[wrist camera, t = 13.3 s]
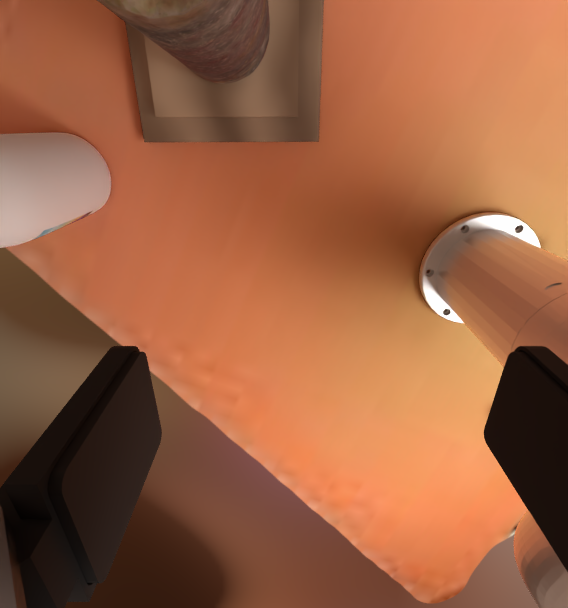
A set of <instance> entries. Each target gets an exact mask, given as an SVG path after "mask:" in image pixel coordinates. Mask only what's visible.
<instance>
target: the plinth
mask: <svg viewBox="0 0 568 608" xmlns="http://www.w3.org/2000/svg"><path fill="white" fill-rule="evenodd" d="M268 6H269V17H270V34H269V42H268V46H267V49H266V52H265V54H264V57H263V59H262V61H261V62H260V64H259V66H258V67H257V68H256V69H255V71H254V72H253V73H251V74H250V75H249V76H247V77H245V78H243V79H241V80H239V81H236V82H233V83H226V84H217V83H213V82H210V81H207V80H205V79H203V78H201V77H199V76H198V75H197V74H195V73H194V72H192V71H191V70H190V69H189V68H187V67H186V66H185V65H184V64H182V63H181V62H180V61H178V60H177V59H176V58H175V57H173V56H172V55H170V54H169V53H168V52H167V51H165V50H164V49H163V48H161V47H160V46H159V45H157V44H156V43H154V42H153V41H151V40H150V39H149V38H147V37H146V36H145V35H143V34H142V33H141V32H139V31H138V30H136V29H135V28H133V27H132V26H130V25H129V24H128V23H126V22H125V23H126V30H127V36H128V42H129V49H130V55H131V61H132V68H133V74H134V80H135V87H136V93H137V99H138V105H139V112H140V118H141V124H142V131H143V137H144V142H319V120H320V92H321V63H322V34H323V6H324V0H268Z"/></svg>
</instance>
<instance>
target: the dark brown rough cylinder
mask: <svg viewBox="0 0 568 608" xmlns="http://www.w3.org/2000/svg"><path fill="white" fill-rule="evenodd" d="M97 1H99V2H100V3H102V4H103V5H104V6H106V7H107V8H108V9H109V10H111V11H112V12H113V13H115V14H116V15H117V16H118V17H120V18H121V19H122V20H124V21H125V22H126V23H128V24H129V25H130V26H132V27H133V28H135V29H136V30H138V31H139V32H141V33H142V34H143V35H145V36H146V37H147V38H149V39H150V40H151V41H153V42H154V43H156V44H157V45H159V46H160V47H161V48H163V49H164V50H165V51H167V52H168V53H169V54H170V55H172V56H173V57H175V58H176V59H177V60H178V61H180V62H181V63H182V64H184V65H185V66H186V67H187V68H189V69H190V70H191V71H192V72H194V73H195V74H197V75H198V76H199V77H201V78H203V79H205V80H207V81H210V82H213V83H217V84H226V83H233V82H236V81H239V80H241V79H243V78H245V77H247V76H249V75H250V74H251V73H253V72H254V71H255V69H256V68H257V67H258V66H259V64H260V62H261V61H262V59H263V57H264V54H265V52H266V49H267V46H268V42H269V34H270V17H269V6H268V0H97Z"/></svg>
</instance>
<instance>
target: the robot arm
mask: <svg viewBox="0 0 568 608" xmlns="http://www.w3.org/2000/svg"><path fill="white" fill-rule="evenodd" d="M462 226H463V228H462V229H461V227H462ZM427 270H429V271H428V272H426V271H427ZM419 284H420V289H421V293H422V295H423V297H424V299H425V301H426V302H427V304H428V305H429V306H430V307H431V309H432V310H433V311H434V312H435V313H437V314H438V315H439V316H441V317H443V318H445V319H447V320H450V321H453V322H458V323H465V325H466V326H467V327H468V328H469V329H470V330H471V331H472V332H473V333H474V335H475V336H476V337H477V338H478V339H479V340H480V341H481V342H482V343H483V345H484V346H485V347H486V348H487V349H488V350H489V351H490V352H491V353H492V354H493V356H494V357H495V358H496V359H497V360H498V361H499V362H500V363H501V364H502V366H503V367H504V369H503V373H502V376H501V379H500V382H499V385H498V388H497V391H496V394H495V397H494V401H493V404H492V407H491V410H490V413H489V416H488V419H487V422H486V425H485V429H484V438H485V441H486V443H487V445H488V447H489V448H490V450H491V452H492V453H493V455H494V456H495V458H496V460H497V461H498V463H499V464H500V466H501V467H502V469H503V471H504V472H505V474H506V475H507V477H508V479H509V480H510V482H511V483H512V485H513V487H514V488H515V490H516V491H517V493H518V494H519V496H520V498H521V499H522V501H523V502H524V504H525V506H526V507H527V509H528V511H527V512H526V513H525V514H524V516H523V517H522V519H521V520H520V522H519V524H518V526H517V529H516V532H515V537H514V554H515V559H516V563H517V566H518V569H519V572H520V574H521V577H522V579H523V581H524V583H525V585H526V587H527V589H528V590H529V592H530V594H531V596H532V597H533V599H534V600H535V602H536V604H537V605H538V607H539V608H568V261H567V260H565V259H563V258H560V257H558V256H556V255H554V254H552V253H550V252H548V251H546V250H544V249H542V248H541V246H540V242H539V239H538V237H537V236H536V234H535V232H534V231H533V230H532V229H531V228H530V227H529V226H528V225H527V224H526V223H525V222H523V221H521V220H520V219H518V218H516V217H513V216H510V215H508V214H503V213H498V212H485V213H480V214H474V215H471V216H468V217H466V218H463V219H461V220H459V221H457V222H455V223H454V224H452V225H450V226H449V227H448V228H447V229H445V230H444V231H443V232H441V233H440V234H439V236H438V237H437V238H436V239H435V240H434V241H433V242H432V244H431V245H430V247H429V248H428V250H427V251H426V253H425V256H424V258H423V260H422V263H421V267H420V272H419ZM161 434H162V432H161V425H160V420H159V415H158V410H157V405H156V401H155V396H154V391H153V386H152V381H151V376H150V371H149V366H148V361H147V357H146V354H145V352H140V351H139V349H138V347H136V346H114V347H112V348H110V349H109V351H108V352H107V353H106V354H105V356H104V357H103V358H102V360H101V361H100V362H99V363H98V365H97V366H96V367H95V368H94V370H93V371H92V372H91V373H90V375H89V376H88V377H87V379H86V380H85V381H84V382H83V384H82V385H81V386H80V387H79V389H78V390H77V391H76V392H75V394H74V395H73V396H72V398H71V399H70V400H69V401H68V403H67V404H66V405H65V406H64V408H63V409H62V410H61V412H60V413H59V414H58V415H57V417H56V418H55V419H54V420H53V422H52V423H51V424H50V425H49V427H48V428H47V429H46V430H45V432H44V433H43V434H42V436H41V437H40V438H39V439H38V441H37V442H36V443H35V444H34V446H33V447H32V448H31V450H30V451H29V452H28V453H27V455H26V456H25V457H24V459H23V460H22V461H21V462H20V463H19V465H18V466H17V467H16V468H15V470H14V471H13V472H12V473H11V475H10V476H9V477H8V479H7V480H6V481H5V483H4V484H3V485H2V487H1V488H0V608H64V607H65V605H66V603H67V602H89V601H90V599H91V596H92V594H93V592H94V589H95V587H96V584H97V583H102V582H103V581H104V580H105V579H106V577H107V575H108V573H109V570H110V568H111V565H112V563H113V560H114V558H115V555H116V553H117V550H118V548H119V545H120V543H121V540H122V538H123V535H124V533H125V530H126V528H127V525H128V523H129V520H130V518H131V515H132V513H133V510H134V508H135V505H136V502H137V500H138V497H139V495H140V492H141V490H142V487H143V485H144V482H145V480H146V477H147V475H148V472H149V470H150V467H151V465H152V462H153V460H154V457H155V454H156V452H157V450H158V447H159V445H160V441H161Z"/></svg>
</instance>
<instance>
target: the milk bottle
mask: <svg viewBox="0 0 568 608" xmlns="http://www.w3.org/2000/svg"><path fill="white" fill-rule="evenodd" d="M110 192H111V176H110V172H109V169H108V166H107V164H106V162H105V160H104V158H103V157H102V156H101V154H100V153H99V152H98V151H97V150H96V148H95V147H93V146H92V145H91V144H90V143H89V142H87V141H86V140H84V139H82V138H80V137H78V136H76V135H73V134H69V133H59V132H50V133H15V134H0V248H2V247H10V246H14V245H19V244H22V243H25V242H28V241H31V240H33V239H36V238H39V237H41V236H43V235H46V234H48V233H50V232H53V231H55V230H57V229H59V228H62V227H64V226H66V225H68V224H71V223H73V222H75V221H77V220H79V219H82V218H84V217H86V216H88V215H90V214H92V213H94V212H96V211H98V210H99V209H101V208H102V207H103V206H104V205H105V203H106V202H107V200H108V198H109V195H110Z"/></svg>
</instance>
